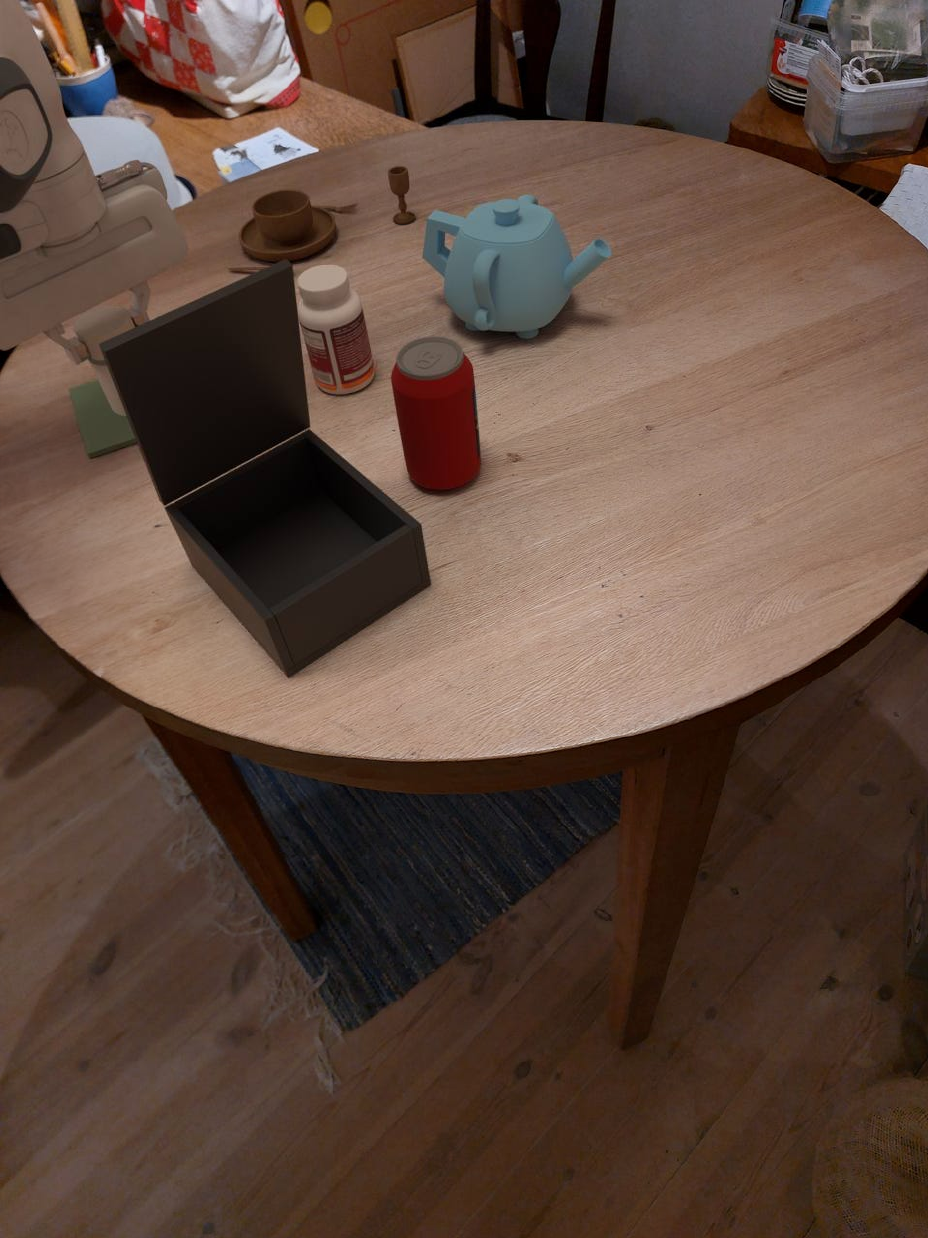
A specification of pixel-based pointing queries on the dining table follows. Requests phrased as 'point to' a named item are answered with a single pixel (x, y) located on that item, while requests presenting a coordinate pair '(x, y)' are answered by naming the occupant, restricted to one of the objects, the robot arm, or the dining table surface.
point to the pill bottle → (334, 330)
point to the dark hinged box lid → (213, 380)
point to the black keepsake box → (301, 548)
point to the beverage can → (437, 412)
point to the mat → (99, 420)
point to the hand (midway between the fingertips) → (112, 343)
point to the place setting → (302, 222)
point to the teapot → (507, 264)
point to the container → (95, 331)
